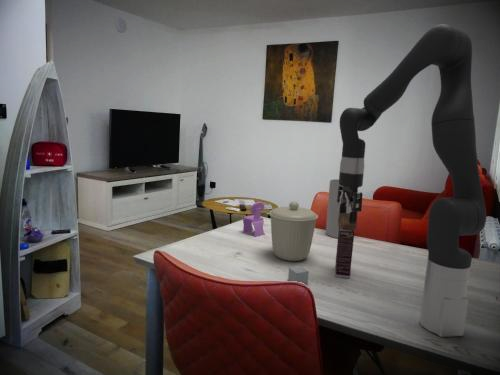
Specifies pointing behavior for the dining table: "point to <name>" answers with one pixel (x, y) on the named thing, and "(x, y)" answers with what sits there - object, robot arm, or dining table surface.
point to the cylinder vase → (333, 209)
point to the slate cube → (298, 274)
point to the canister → (292, 231)
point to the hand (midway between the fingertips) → (347, 219)
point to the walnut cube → (345, 222)
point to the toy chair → (254, 219)
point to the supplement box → (344, 253)
